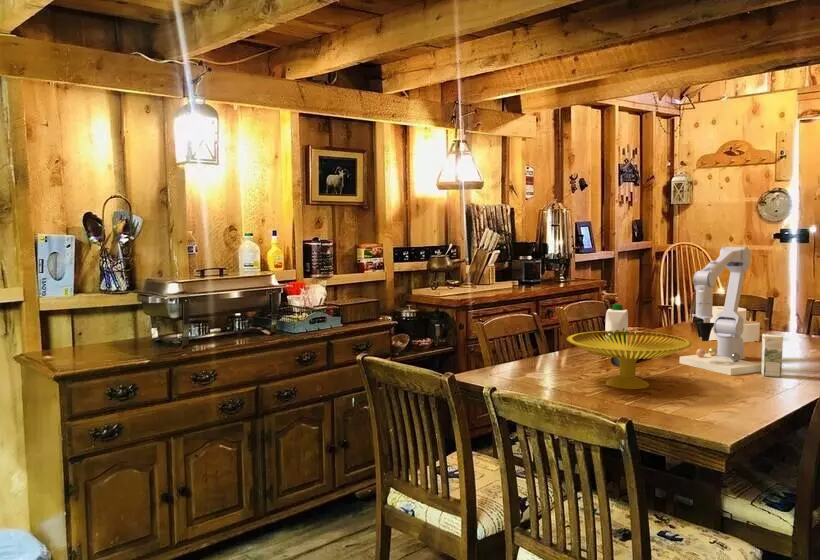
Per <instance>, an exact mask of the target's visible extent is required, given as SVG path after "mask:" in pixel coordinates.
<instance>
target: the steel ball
mask: <svg viewBox="0 0 820 560" xmlns="http://www.w3.org/2000/svg"><path fill="white" fill-rule="evenodd" d="M731 360H732V361H734V362H737V361H739V360H741V359H740V355H739V354H738V353H733V354H732V355H731Z"/></svg>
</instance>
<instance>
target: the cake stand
mask: <svg viewBox="0 0 820 560" xmlns="http://www.w3.org/2000/svg"><path fill="white" fill-rule="evenodd" d="M608 332H609V333H610V335H611V337H612V339H613V342H614V343H613V342H612V341H611V339H610V337H609V335H608ZM608 332H607V331H605V330H602V331H587V332H579V333H576V334H575V333H573V334H571V335H569V336H567V337H566V341H567V342H568V343H569V344H572V345H574V346H576V347H578V348H579V349H581V350H583V351H586V352H588V353H590V354H592V355H595V356H601V357H605V358H606V357H608V358H611V357H613V358H614V357H617V359H618V360H619V361H620V366H619V375H617V376H614V377H612V378H610V379H608V380H606V382H605V384H606V385H607V386H609V387H613V388H616V389H623V390H624V389H626V390H638V389H639V390H641V389H645V388H649V387H650V383H649V382H647V381H645V380H644V379H642V378H640V377H638V376H636V365H637V361H638V360H640V358H641V359H643V360H645V359H647V360H648V359H659V358H664V357H669V356H671V355H674V354H676V353H678V352H680V351H683V350H685V349H688V348H690V347H691V346H693V342H692V341H691V340H689V339H687V338H684V337H681V336H677V335H671V334H666V333H665V334H664V333H658V332H650V331H649V332H648V331H634V330H633V331H632V330H631V331H630V330H628V331H625V334H626V344H625V343H624V331H619V332H620V335H621V340H622V344H621V342H620V340H619V335H618V331H614V333H615V335H616V338H617V341H618V344H617V342H616V340H615V338H614V335H613V331H608ZM605 335H606V336H607V338H608V340H609V342H608V341H607V339H606V338H605ZM634 335H635V339H634ZM629 336H630V341H629ZM639 337H640V338H639ZM649 337H650V338H649ZM654 337H655V338H654ZM602 338H603V339H602ZM643 339H644V340H643ZM648 339H649V340H648Z"/></svg>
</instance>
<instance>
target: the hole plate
mask: <svg viewBox="0 0 820 560" xmlns="http://www.w3.org/2000/svg"><path fill="white" fill-rule="evenodd" d="M679 364H682V365H686V366H690V367H695V368H698V369H702V370H707V371H710V372H715V373H717V374H723V375H728V376H737V375H745V374H752V373H760V372H761V363H756V362H752V361H746V360H744V359H740V360H739V361H737V362H734V361H732V360H731V358H729V357H724V356H719V355H717V354H716V355H714V356H711V355H710V354H709V353H708V352H707V353H705V355H704V356H703V357H699V356H697V354H692V355H691V354H690V355H683V356H682V355H681V356H679Z"/></svg>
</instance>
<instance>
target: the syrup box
mask: <svg viewBox="0 0 820 560" xmlns="http://www.w3.org/2000/svg"><path fill="white" fill-rule="evenodd" d="M783 343H784V338H783V335H782V334H780V333H762V335H761V363H760V364H761V373H760V374H761V375H762V376H763V377H771V378H782V372H783V371H782V370H783V368H782V367H783V366H782V365H783V347H784V346H783Z"/></svg>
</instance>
